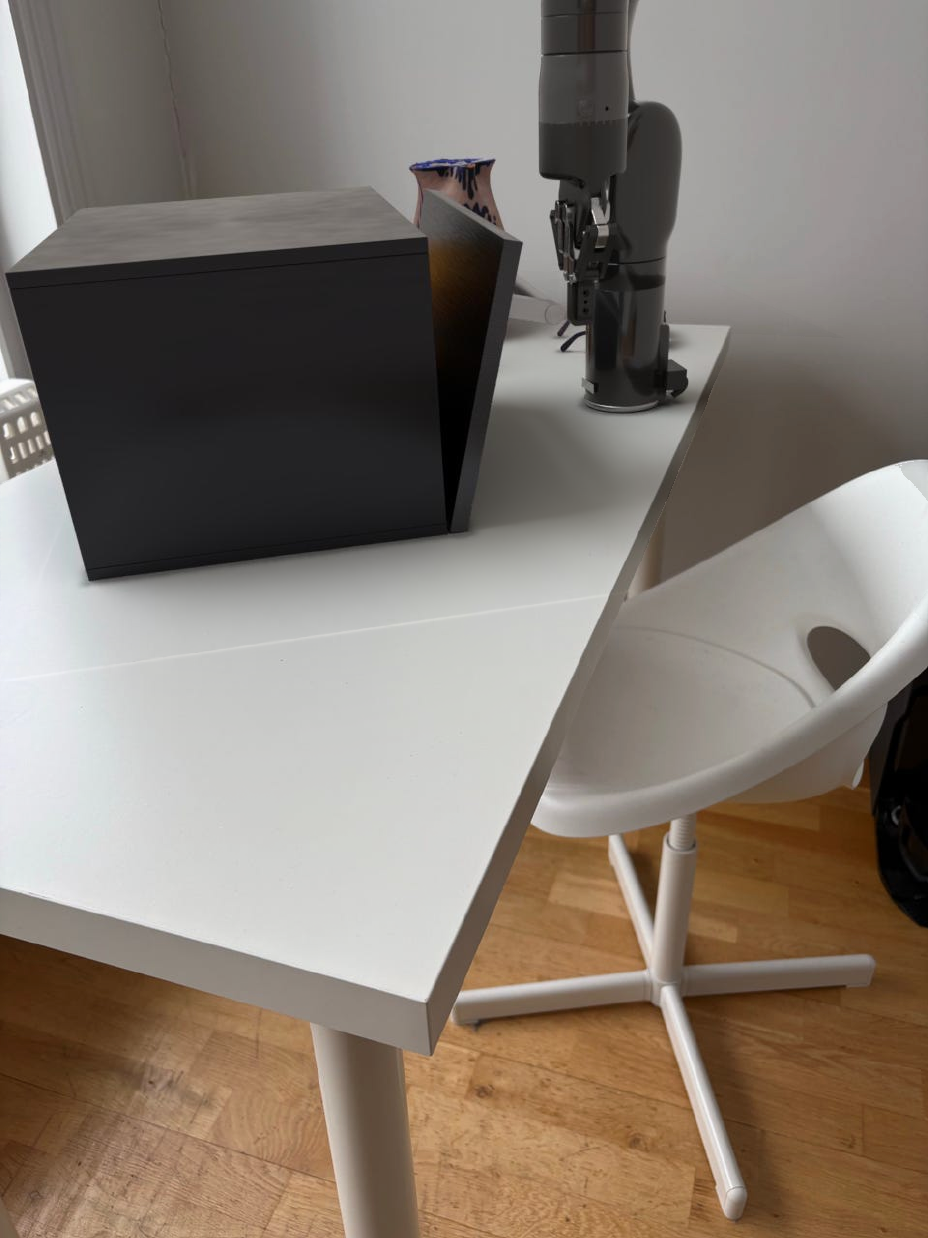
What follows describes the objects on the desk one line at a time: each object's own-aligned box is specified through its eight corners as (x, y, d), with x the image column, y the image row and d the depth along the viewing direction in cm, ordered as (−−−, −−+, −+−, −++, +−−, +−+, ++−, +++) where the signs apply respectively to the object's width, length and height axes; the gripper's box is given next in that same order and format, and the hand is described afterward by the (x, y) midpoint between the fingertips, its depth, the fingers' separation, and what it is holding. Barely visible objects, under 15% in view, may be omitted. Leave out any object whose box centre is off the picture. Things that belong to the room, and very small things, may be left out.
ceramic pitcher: (439, 352, 147) (427, 169, 134) (383, 326, 163) (368, 161, 151) (539, 333, 153) (536, 158, 141) (475, 310, 170) (468, 151, 158)
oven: (390, 407, 124) (370, 185, 112) (447, 535, 90) (427, 236, 77) (132, 436, 120) (80, 208, 107) (88, 582, 86) (4, 272, 73)
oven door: (453, 412, 126) (491, 199, 115) (532, 539, 92) (597, 254, 81) (392, 405, 124) (424, 188, 113) (450, 531, 90) (504, 238, 78)
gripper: (653, 115, 78) (643, 336, 86) (601, 109, 89) (597, 305, 97) (562, 121, 76) (561, 344, 85) (520, 114, 88) (523, 312, 96)
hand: (580, 323), depth 91 cm, fingers closed
